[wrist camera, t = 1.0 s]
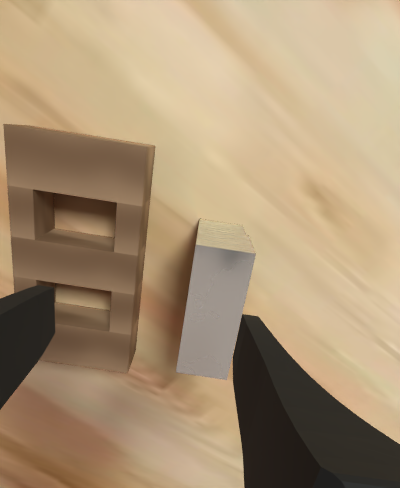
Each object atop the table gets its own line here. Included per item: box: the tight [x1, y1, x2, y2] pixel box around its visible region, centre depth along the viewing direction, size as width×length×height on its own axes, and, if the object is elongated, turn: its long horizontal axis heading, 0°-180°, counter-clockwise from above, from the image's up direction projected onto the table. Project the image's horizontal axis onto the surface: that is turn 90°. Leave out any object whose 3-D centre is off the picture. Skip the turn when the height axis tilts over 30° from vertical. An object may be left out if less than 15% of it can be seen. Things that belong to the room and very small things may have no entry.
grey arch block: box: [176, 219, 256, 380], centre depth 19 cm, size 8×3×6 cm, turn 171°
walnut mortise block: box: [4, 124, 155, 373], centre depth 21 cm, size 16×8×2 cm, turn 171°
